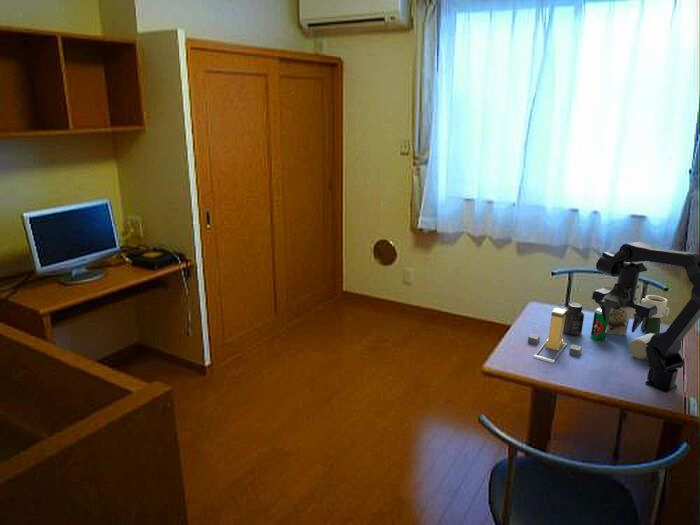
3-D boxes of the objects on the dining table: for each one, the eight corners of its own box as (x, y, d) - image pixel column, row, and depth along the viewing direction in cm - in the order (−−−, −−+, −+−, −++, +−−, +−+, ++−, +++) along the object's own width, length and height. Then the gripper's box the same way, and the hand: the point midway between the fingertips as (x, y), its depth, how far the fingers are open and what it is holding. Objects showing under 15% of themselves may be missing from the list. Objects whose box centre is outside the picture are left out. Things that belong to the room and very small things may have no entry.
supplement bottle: (582, 334, 195) (587, 303, 192) (579, 341, 190) (584, 309, 186) (563, 329, 199) (567, 299, 195) (558, 336, 193) (563, 305, 190)
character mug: (630, 327, 202) (636, 294, 198) (643, 323, 205) (649, 292, 201) (656, 338, 192) (663, 305, 188) (669, 335, 195) (677, 302, 191)
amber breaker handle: (562, 346, 183) (567, 310, 179) (558, 350, 180) (564, 314, 176) (549, 342, 186) (554, 307, 182) (545, 347, 182) (550, 311, 178)
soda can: (607, 344, 187) (612, 313, 184) (591, 343, 188) (596, 311, 185) (603, 338, 192) (608, 307, 188) (588, 337, 193) (593, 306, 189)
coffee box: (599, 333, 196) (607, 292, 191) (596, 326, 202) (603, 286, 197) (626, 336, 194) (634, 294, 189) (622, 328, 200) (629, 288, 195)
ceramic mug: (625, 354, 181) (630, 333, 178) (642, 349, 184) (646, 329, 182) (654, 369, 172) (659, 347, 169) (671, 364, 175) (676, 343, 173)
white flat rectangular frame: (585, 353, 181) (587, 344, 180) (573, 372, 169) (575, 363, 168) (526, 337, 192) (527, 329, 191) (511, 354, 180) (512, 345, 179)
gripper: (585, 277, 171) (578, 322, 176) (643, 295, 157) (633, 344, 161) (605, 271, 177) (597, 314, 182) (662, 288, 163) (653, 335, 167)
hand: (619, 326), depth 173 cm, fingers open, 9 cm apart
